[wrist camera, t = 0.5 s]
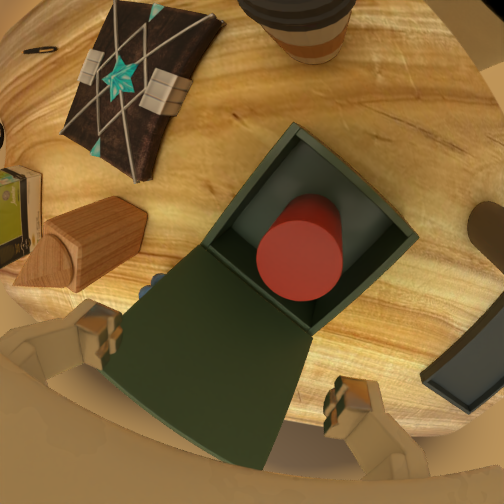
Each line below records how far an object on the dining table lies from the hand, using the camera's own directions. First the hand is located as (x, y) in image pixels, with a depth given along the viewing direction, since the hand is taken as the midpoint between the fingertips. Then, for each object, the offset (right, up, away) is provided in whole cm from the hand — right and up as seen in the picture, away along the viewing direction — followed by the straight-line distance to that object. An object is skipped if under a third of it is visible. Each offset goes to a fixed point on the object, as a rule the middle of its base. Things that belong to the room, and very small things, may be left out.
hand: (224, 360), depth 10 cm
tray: (+36, -12, +21) cm, 43 cm away
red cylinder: (+7, +7, +21) cm, 23 cm away
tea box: (-42, +13, +35) cm, 56 cm away
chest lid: (-1, -4, +12) cm, 13 cm away
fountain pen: (-38, +40, +23) cm, 60 cm away
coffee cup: (+7, +26, +15) cm, 31 cm away
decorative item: (-16, +8, +29) cm, 34 cm away
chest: (+7, +7, +22) cm, 24 cm away
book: (-14, +26, +21) cm, 36 cm away
